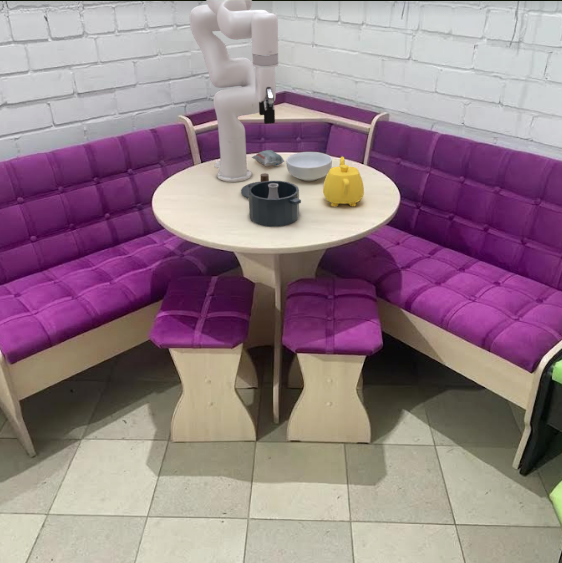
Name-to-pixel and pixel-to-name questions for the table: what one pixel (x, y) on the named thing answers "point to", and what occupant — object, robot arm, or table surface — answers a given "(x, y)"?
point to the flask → (273, 191)
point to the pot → (273, 204)
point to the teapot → (343, 185)
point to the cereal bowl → (309, 165)
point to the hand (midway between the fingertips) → (266, 118)
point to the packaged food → (268, 158)
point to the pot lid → (263, 178)
